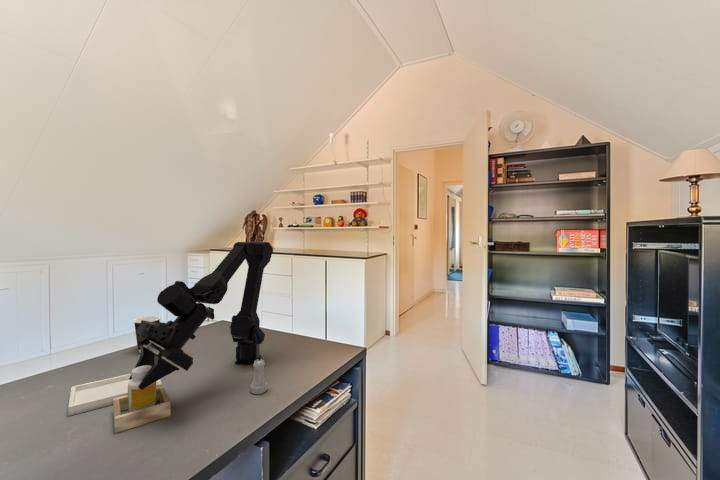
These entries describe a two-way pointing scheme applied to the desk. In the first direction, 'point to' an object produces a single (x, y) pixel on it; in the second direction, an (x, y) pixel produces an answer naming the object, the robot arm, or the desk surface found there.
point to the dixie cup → (138, 321)
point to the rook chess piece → (258, 378)
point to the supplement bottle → (140, 390)
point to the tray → (98, 393)
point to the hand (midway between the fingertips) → (135, 384)
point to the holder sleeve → (140, 411)
